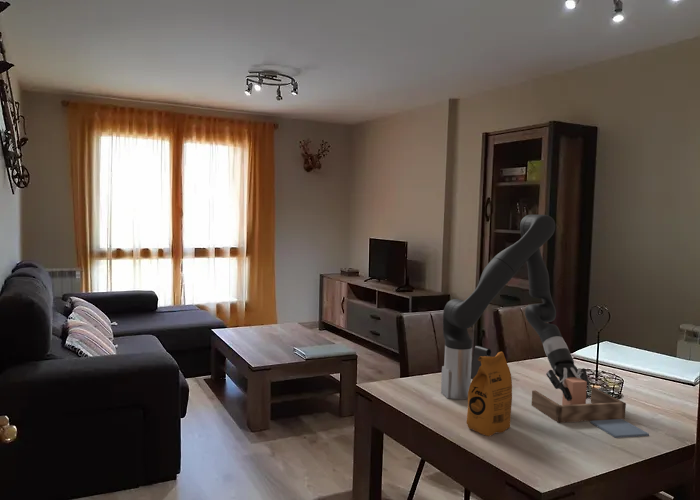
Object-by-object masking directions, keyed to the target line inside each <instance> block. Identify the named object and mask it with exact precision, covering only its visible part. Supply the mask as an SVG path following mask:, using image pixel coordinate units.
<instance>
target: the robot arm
mask: <svg viewBox="0 0 700 500" xmlns="http://www.w3.org/2000/svg"><path fill="white" fill-rule="evenodd" d="M519 231H520V239H519V240H517V241H516V242H514V243H513V244H511V245H509V246H508V247H506V248H505V249H503V250H501V251H499V253H497V254H496V255H495V256H494V257H493V258H492V259H491V260H490V261H489V262H488V263H487V265H486V266H485V267H484V268H483V270H482V273H481V275H480V278H479V281H478V285H477V286H476V288H475V289H474V290H473V292H472V293H471V294H470V295H469V296H468V297H467V298H466V299H465V300H464V299H459V298H454V299H450V300H449V301H447V302H446V304H445V306H444V308H443V312H442V313H443V315H442V333H443V334H442V335H443V339H444V363H443V365H442V366H441V382H440V384H441V385H440V387H441V388H440V393H441V395H443V396H444V397H445V398H446V399H453V400H468V391H469V387H470V384H471V382H472V378H471V363H472V359H473V356H472V355H473V340H472V339H473V338H471V336H470V334H469V332H468V331H469V328H472V327H473V326H474V325H475V324H476V323H477V322H478V321H479V319H480V318H481V316H482V315H483V313H484V312H485V310H486V309H487V308H488V306H489V305H490V303H491V302H492V301H493V300H494V299H495V298H496V296H497V295H498V294H499V293H500V292H501V290H503V289H504V287H505V286H506V285H507V284H508V283H509V282H510V281H511V280H512V279H513V278H514V276H515V275H516V274H517V273H518V272H519V270H520V269H521V268H522V267H523V266H524V265H525V263H526V265H527V275H528V294H529V296H530V297H532V298H533V299H534V298H535V299H540V300H541V302H540V303H533V304H529V305H527V306H526V308H525V310H524V316H525V318H526V321H527V322H528V324H529V325H530V326H531V327H532V328H533V330H534V331H535V332H536V334H537V335H538V337H539V339H540V341H541V343H542V346H543V350H544V352H545V355H546V357H547V360H548V363H549V365H550V367H551V369H548V371H547V372H546V377H547V378H548V380H549V381H550V382H551V385H552V386H553V387H554V389H556V390H560V391H561V392H562V395H563V394H564V397H565V399H567V401H570V400H571V399H572V396H571V394H570V391H569V389H568V388H567V384H566V379H567V378H569V377H575V378H580V379H582V380H584V381H586V382H587V386H589V384H590V382H589V378H588V377H589V376H588V373H587V369H586V368H582V369H581V368H578V367H577V366H576V365H575V360H574V358H573V355H572V353H571V352H570V349H569V347H568V345H567V343H566V342H565V339H564V338H563V336H562V333H561V331H560V329H559V327H558V326H557V325H556V324H554V323H551V322H553V321H555V319H556V317H557V310H556V307H555V304H554V302H553V297H552V295H551V290H550V289H551V288H550V275H549V271H548V268H547V265H546V262H545V260H544V259H543V256H542V253H541V247H542V246H544V244H546V243H547V242H549V240H550V239H551V237H552V236H553V235H554V233H555V231H556V221H555V220H554V218H553V217H551V216H550V215H547V214H534V213H533V214H527V215H525V216H524V217H523V218H522V219H521V221H520V223H519ZM588 398H589V394H588V392H587V390H586V400H588Z"/></svg>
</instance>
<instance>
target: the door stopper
mask: <svg viewBox="0 0 700 500" xmlns="http://www.w3.org/2000/svg"><path fill="white" fill-rule="evenodd" d="M480 356H482V357H484V356H487V357H492V349H491V348H488V347H485V346H480V345H475V346H474V349H473V356H472V362H471V380H473V378H474V377H475V376H476V375H477V373H478V370H479V367H480V366H481V361H479V360H478V358H479V357H480Z"/></svg>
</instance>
